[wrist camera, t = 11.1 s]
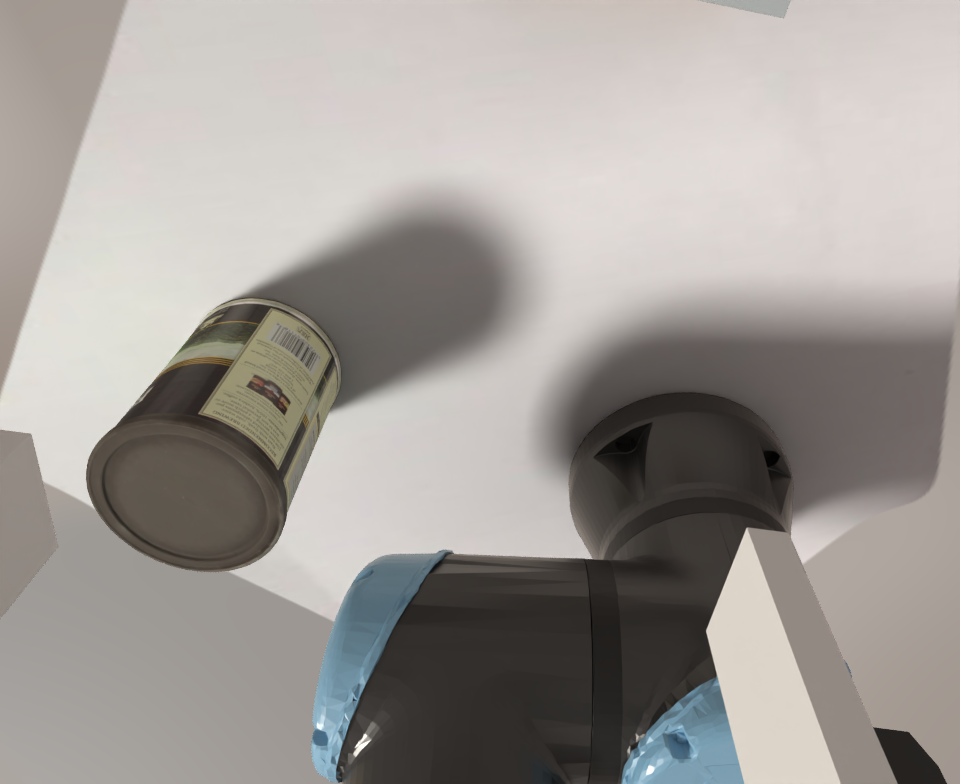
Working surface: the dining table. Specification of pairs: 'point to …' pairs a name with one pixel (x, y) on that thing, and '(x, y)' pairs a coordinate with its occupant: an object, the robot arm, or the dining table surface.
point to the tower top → (757, 6)
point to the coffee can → (219, 439)
